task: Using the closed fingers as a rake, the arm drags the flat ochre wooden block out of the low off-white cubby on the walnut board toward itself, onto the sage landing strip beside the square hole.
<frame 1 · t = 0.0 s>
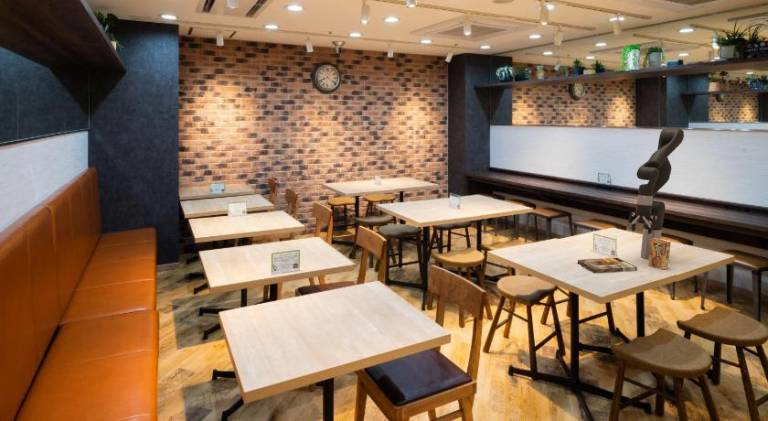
hand: (641, 232, 267), 17 cm above the table, tool pointing down, fingers open, 8 cm apart
candy box: (657, 267, 262), on the table
compartment board: (606, 266, 263), on the table
ochre block: (609, 265, 259), point 2 cm above the table, touching compartment board
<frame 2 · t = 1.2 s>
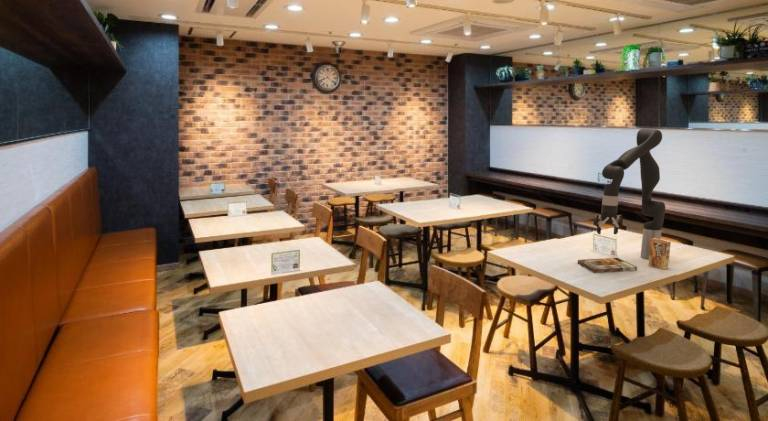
hand: (606, 234, 256), 19 cm above the table, tool pointing down, fingers open, 8 cm apart
nothing on the table moved.
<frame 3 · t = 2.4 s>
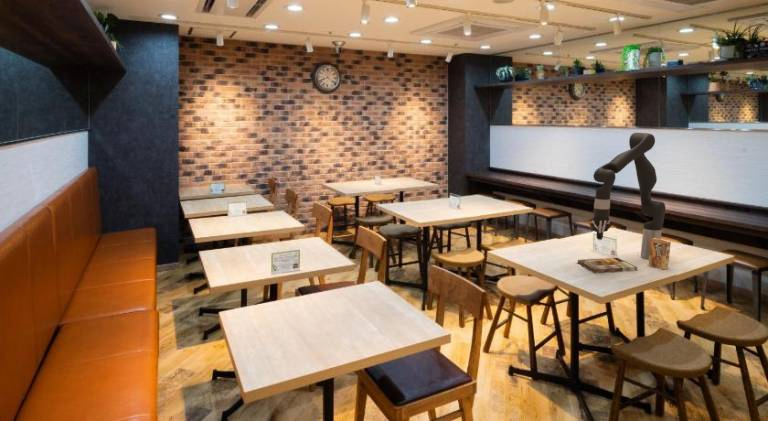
hand: (599, 239, 256), 17 cm above the table, tool pointing down, fingers closed
nothing on the table moved.
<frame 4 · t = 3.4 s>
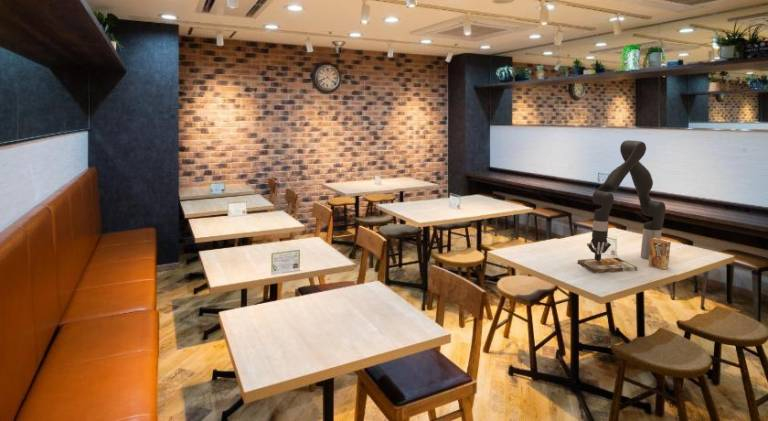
hand: (597, 260, 258), 5 cm above the table, tool pointing down, fingers closed
nothing on the table moved.
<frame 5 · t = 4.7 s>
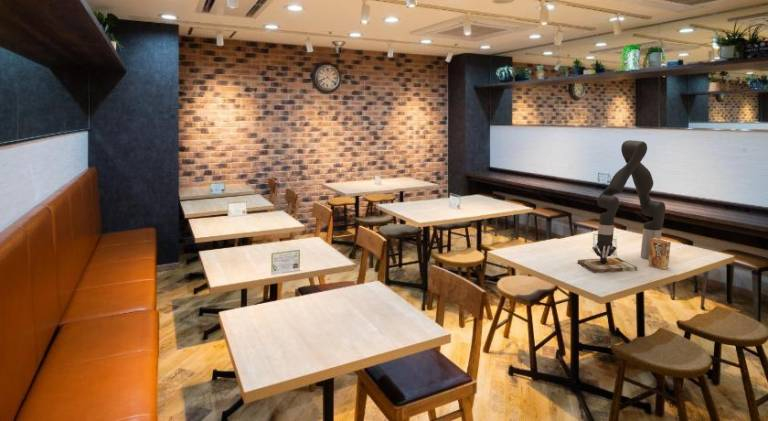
hand: (602, 263, 259), 3 cm above the table, tool pointing down, fingers closed
ochre block: (611, 265, 259), point 2 cm above the table, touching gripper
everything else where it was.
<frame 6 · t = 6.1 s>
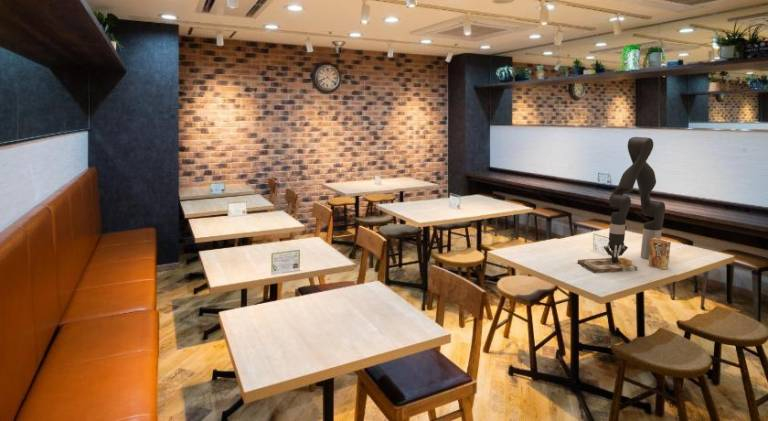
hand: (614, 263, 259), 3 cm above the table, tool pointing down, fingers closed
ochre block: (622, 264, 260), point 2 cm above the table, touching gripper, compartment board
everything else where it was.
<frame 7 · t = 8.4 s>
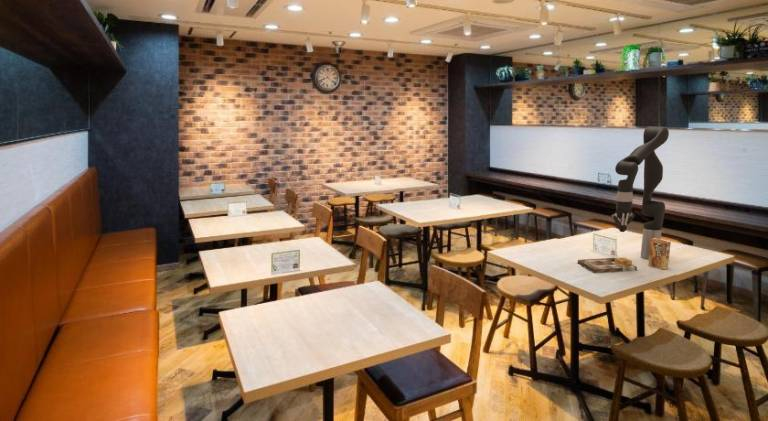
hand: (622, 231, 256), 20 cm above the table, tool pointing down, fingers closed
ochre block: (622, 264, 260), point 2 cm above the table, touching compartment board
everything else where it was.
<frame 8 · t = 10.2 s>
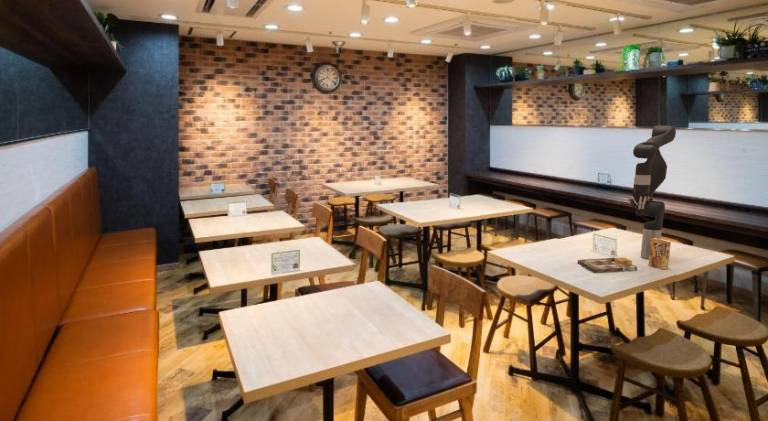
hand: (638, 215, 254), 29 cm above the table, tool pointing down, fingers closed
nothing on the table moved.
at the end: ochre block 0.3 cm from the target spot, point 2.0 cm above the table; ochre block tilted 0° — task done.
